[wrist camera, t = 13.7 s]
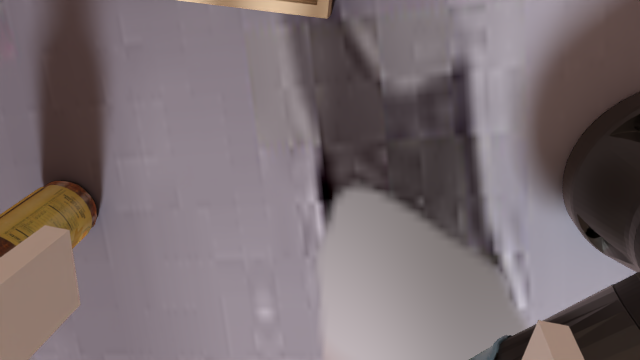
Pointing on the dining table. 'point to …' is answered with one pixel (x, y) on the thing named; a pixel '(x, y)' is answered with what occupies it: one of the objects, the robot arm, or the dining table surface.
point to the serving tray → (279, 6)
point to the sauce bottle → (48, 214)
